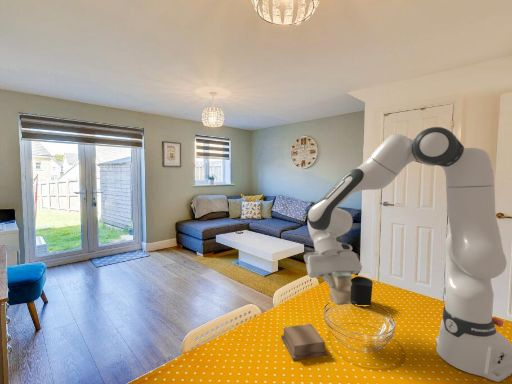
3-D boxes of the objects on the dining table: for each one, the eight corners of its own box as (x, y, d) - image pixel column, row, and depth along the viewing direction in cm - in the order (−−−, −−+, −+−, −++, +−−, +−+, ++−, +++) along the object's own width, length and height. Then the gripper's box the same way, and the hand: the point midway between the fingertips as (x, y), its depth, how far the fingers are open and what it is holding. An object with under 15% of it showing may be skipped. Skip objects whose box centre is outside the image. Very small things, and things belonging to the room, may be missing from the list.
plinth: (311, 333, 93) (311, 322, 92) (327, 355, 82) (327, 342, 81) (281, 337, 90) (281, 326, 90) (293, 360, 79) (293, 347, 79)
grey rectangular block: (342, 296, 95) (343, 269, 95) (350, 303, 90) (351, 274, 90) (329, 298, 94) (329, 270, 94) (337, 305, 89) (337, 276, 88)
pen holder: (346, 297, 120) (347, 275, 120) (367, 298, 120) (368, 276, 119) (351, 307, 111) (352, 284, 110) (374, 308, 110) (375, 285, 110)
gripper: (304, 248, 96) (316, 285, 87) (355, 245, 100) (371, 280, 91) (299, 256, 100) (310, 293, 91) (348, 253, 105) (362, 287, 96)
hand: (341, 286), depth 91 cm, fingers closed on grey rectangular block, 5 cm apart
